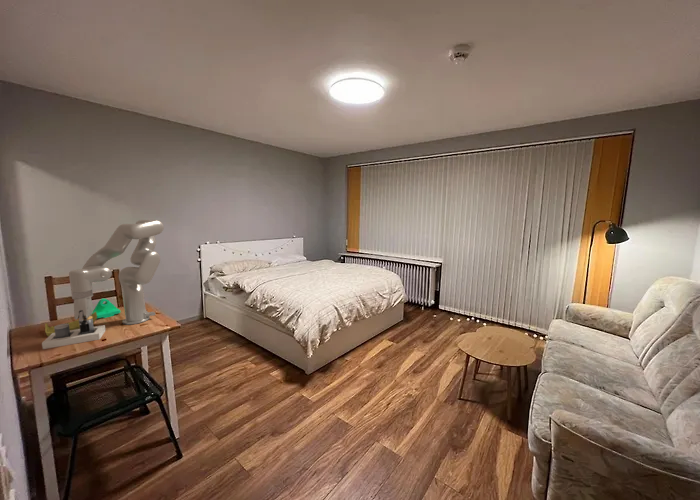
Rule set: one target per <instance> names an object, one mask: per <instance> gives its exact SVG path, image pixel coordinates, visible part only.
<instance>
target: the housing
mask: <svg viewBox="0 0 700 500" xmlns="http://www.w3.org/2000/svg"><path fill="white" fill-rule="evenodd" d="M105 333H106V325H105V324H103V325H97V326H94V333H88V334H82V335H81V333H80V328H79V329H76V330H70V335H71V336H70V337H64V338H58V339H56V336H55V333H52V334H51V335H50V336H47V338H45V340H43V341H42V342H41V348H42V350H47V349H53V348H58V347H64V346H70V345H76V344H81V343H86V342H92V341H93V342H94V341H98V340H101V338H102V337H103V335H104V334H105Z"/></svg>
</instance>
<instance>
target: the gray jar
mask: <svg viewBox="0 0 700 500" xmlns="http://www.w3.org/2000/svg"><path fill="white" fill-rule="evenodd" d="M83 318H85V317H83ZM84 320H85V321H86V319H84ZM88 323H89V329H90V331H89V332H83V333H81V330H80V333H81V335H82V334H88V333H94V327H95V326H94V323H93V318H92V316H89V317H88ZM79 326H80V322H79Z"/></svg>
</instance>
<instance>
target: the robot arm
mask: <svg viewBox="0 0 700 500" xmlns="http://www.w3.org/2000/svg"><path fill="white" fill-rule="evenodd" d="M164 228H165V225H164V224H163V222H162V221H161V220H157V219H139V220H137V221H136V222H135V223H123V224H119V225H118V226H117V228H116V229H115V231H114V232H113V234H111V236H110V238H109V239H108V241H107V242H106V243H105V245H104V246H103V247H101V248H100V249H98V250H97V251H96V252H95V253H93V254H91V256H90V257H89V258H88V260H86V262H85V263H84V265H83V266H82V268H80V269H79V268H77V269H73V270H70V271H69V273H68V276H69V277H68V278H69V285H70V291H71V299H72V300H73V312H74V320H75V321H77V320H79V322H80V328H79V329H80V330H81V333H83V332H89V331H90V329H89V323H88V317H89V316H91V315H92V313H93V310H94V308H93V307H94V305H93V302H92V297H93V296H94V290H93V285H92V283H96V282H97V283H98V282H99V283H100V282H104V281H107V280H109V279H110V278H112V275H113V272H112V270H111V269H110V268H108V267H106V266H104V264H106V263H107V262H108V261H110V260H112V259H113V258H116V257H119V256H121V255H123V254H124V253H125V251H126V249H127V248H128V246H129V245H130V244H131V241H132V240H138V242H137V245H136V246H135V248H134V250H133V252H132V254H131V256H130V258H129V259H130V263H131V264H133V265H134V266H127V267H124V268H122V269H120V271H119V273H118V280H119V284H120V286H121V290H122V291H121V292H122V299H123V307H124V314H125V315H124V316H125V317H124V318H125V319H122V324H123V325H128V326H129V325H137V324H141V323H145V322H146V321H149V320H150V319H151V318H150V317H151V316H153V317H154V316H156V312H155V311H149V312H148V309H146V303H145V291H144V287H143V286H145V285H147V284H149V283H150V282H151V281H152V280H153V277H154V275H155V274H156V272H157V270H158V267H159V266H160V262H161V255H160V254H159V253H158V252H157V251H155V247H156V245H157V240H156V237H155V236H158V235H160V234H161V233H163V231H164ZM137 266H138V267H137ZM83 317H85V318H83ZM84 319H86V321H85V320H84Z"/></svg>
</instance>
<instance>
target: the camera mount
mask: <svg viewBox="0 0 700 500" xmlns="http://www.w3.org/2000/svg"><path fill="white" fill-rule="evenodd" d="M94 312H96V314H97V319H101V318H103V319H107V318H111V317H114V316H115V315H117V314H120V313H121V312H122V311H121V309H119V308H117V307H116V306H115V305H114V304H113V303H112V302H111V301H110V300H109V299H107V298H101V299H100V300H98V302H97V304H96V305H95V307H94V308H93V313H94ZM93 313H92V314H93ZM92 314H91V315H92Z"/></svg>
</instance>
